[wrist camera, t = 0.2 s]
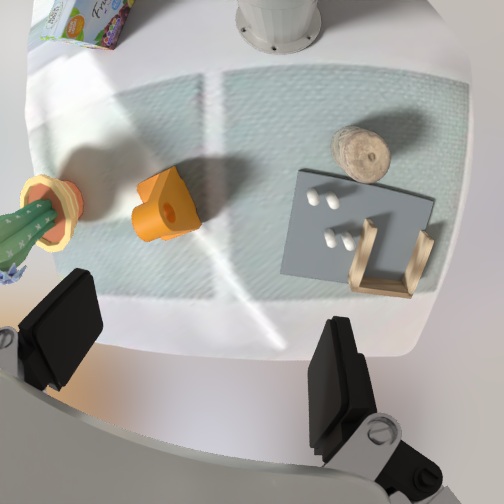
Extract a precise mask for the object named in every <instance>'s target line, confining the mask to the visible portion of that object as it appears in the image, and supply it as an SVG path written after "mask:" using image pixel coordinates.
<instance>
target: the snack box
mask: <svg viewBox="0 0 504 504" xmlns="http://www.w3.org/2000/svg"><path fill="white" fill-rule="evenodd" d="M134 1H135V0H55V2H54V5H53V7H52V9H51V12H50V14H49V17H48V19H47V22H46V24H45V27H44V29H43V32H42V35H41V39H42V40H50V41H56V42H62V43H67V44H73V45H78V46H82V47H87V48H92V49H109V50H114V48H115V45H116V42H117V40H118V37H119V35H120V32H121V30H122V27H123V25H124V23H125V20H126V18H127V16H128V14H129V11H130V9H131V7H132V5H133V3H134Z"/></svg>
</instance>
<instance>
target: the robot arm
mask: <svg viewBox="0 0 504 504" xmlns="http://www.w3.org/2000/svg"><path fill="white" fill-rule="evenodd" d="M237 2H238V4H239V7H238V9H237V13H236V25H237V29H238V31H239V33H240V35H241V36H242V38H243V39H244V40H245V41H246V42H247V43H248V44H250V45H251V46H252V47H254V48H256V49H258V50H260V51H263V52H266V53H270V54H290V53H294V52H298V51H300V50H302V49H304V48H306V47H307V46H309V45H310V44H311V43H312V42H313V41H314V40H315V39H316V37H317V35H318V34H319V31H320V28H321V14H320V12H319V9H318V7H317V6H316V5H317V2H318V0H237ZM244 30H246V32H243V31H244ZM308 37H309V38H310V40H309V39H307V38H308ZM273 48H276V50H275V51H274V50H273ZM18 327H19V329H20V331H19V332H18V333H17V331H16V330H15V329H14V328H13V327H10V326H6V327H2V328H0V504H461V503H460V501H459V500H458V499H457V498H456V496H455V495H454V494H453V492H452V491H451V490H450V489H449V487H448V486H446V487H443V485H442V481H443V476H442V472H441V470H440V468H439V467H438V466H437V465H436V464H435V463H434V462H432V461H431V460H429V459H428V458H426V457H425V456H424V455H422V454H420V453H419V452H418V451H416V450H415V449H414V448H412V447H411V446H409V445H408V444H406V443H405V442H404V441H402V440H401V437H402V430H401V427H400V425H399V423H398V422H397V420H396V419H394V418H393V417H392V416H390V415H388V414H385V413H377V408H376V404H375V399H374V394H373V389H372V385H371V381H370V377H369V372H368V368H367V364H366V360H365V357H364V355H363V354H362V353H358V352H357V347H356V343H355V339H354V335H353V331H352V327H351V323H350V320H349V318H347V317H339V316H333V318H332V320H331V319H328V320H327V321H326V324H325V327H324V329H323V332H322V335H321V337H320V340H319V342H318V345H317V347H316V350H315V352H314V355H313V357H312V360H311V362H310V365H309V368H308V395H309V432H310V435H309V437H310V447H311V448H314V455H322V459H323V462H324V463H325V464H324V465H323V466H322V467H317V466H305V465H295V464H283V463H273V462H263V461H255V460H249V459H241V458H235V457H228V456H223V455H218V454H213V453H208V452H202V451H198V450H193V449H190V448H185V447H181V446H178V445H174V444H170V443H166V442H163V441H159V440H156V439H153V438H150V437H146V436H143V435H140V434H137V433H134V432H131V431H128V430H126V429H123V428H120V427H117V426H115V425H112V424H109V423H107V422H105V421H102V420H100V419H97V418H95V417H93V416H91V415H88V414H86V413H84V412H81V411H79V410H77V409H75V408H73V407H70V406H69V405H67V404H64V403H63V402H61V401H59V400H57V399H55V398H53V397H51V396H49V395H47V392H46V387H47V385H49V387H51V388H53V389H55V390H57V391H60V389H61V388H62V386H63V387H64V386H66V384H67V383H68V381H69V380H70V378H71V376H72V375H73V373H74V372H75V370H76V369H77V367H78V366H79V364H80V363H81V361H82V360H83V358H84V357H85V355H86V354H87V352H88V351H89V349H90V348H91V346H92V345H93V343H94V342H95V341H96V339H97V338H98V336H99V335H100V333H101V332H102V330H103V321H102V317H101V313H100V309H99V304H98V300H97V295H96V290H95V285H94V280H93V276H92V275H91V274H90V272H89V271H88V270H84V269H80V268H76V269H74V270H73V271H72V272H71V273H70V274H69V275H68V276H67V277H65V278H64V279H63V280H62V281H61V282H60V283H59V284H58V285H57V286H56V287H55V288H54V289H53V290H52V291H51V292H50V293H49V294H48V295H47V296H46V297H45V298H44V299H43V300H42V301H41V302H40V303H39V304H38V305H37V306H36V307H35V308H34V309H33V310H32V311H31V312H30V313H29V314H28V315H27V316H26V317H25V318H24V319H23V320H22V322H21V323H20V324H19V325H18Z"/></svg>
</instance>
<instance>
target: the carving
mask: <svg viewBox="0 0 504 504" xmlns="http://www.w3.org/2000/svg"><path fill="white" fill-rule="evenodd" d="M331 153H332V156H333V158H334V160H335V162H336V163H337V164H338V165H339V166H340V167H341V168H342V169H343V170H344V171H345V172H346V173H347V174H348V175H349V176H350V177H351V178H353V179H354V180H356V181H358V182H361V183H366V184H368V183H374V182H377V181H379V180H380V179H381V178H382V177H383V176H384V175H385V174H386V173H387V171H388V169H389V166H390V160H391V155H390V149H389V147H388V145H387V143H386V142H385V141H384V139H383V138H382V137H380V136H379V135H378V134H376V133H374V132H372V131H370V130H366V129H362V128H360V127H356V126H346V127H344V128H342V129H340V130H339V131H337V132H336V133H335V134H334V136H333V138H332V142H331Z"/></svg>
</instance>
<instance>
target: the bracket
mask: <svg viewBox="0 0 504 504" xmlns="http://www.w3.org/2000/svg"><path fill="white" fill-rule="evenodd" d="M137 191H138V193H139V196H140V198H141V200H142V202H143V204H141V205H139V206H137V207H135V208H134V209H133V211H132V224H133V227H134V230H135V232H136V233H137V235H138V236H139V237H140V238H141V239H142V240H143V241H146V242H150V241H152V240H155V239H157V238H161V239H162V240H165V241H166V240H169V239H172V238H175V237H177V236H180V235H183V234H186V233H188V232H191V231H194V230H197V229H199V228H200V226H201V225H202V224H201V222H200V220H199V218H198V215H197V213H196V207H195V205H194V202H193V200H192V198H191V196H190V194H189V192H188V189H187V187H186V185H185V183H184V180H183V179H182V180H181V178H180V176H179V174H178V172H177V169H176V167H175V166H174V167H172V168H169V169H167V170H165V171H163V172H161V173H159V174H157V175H155V176H153V177H151V178H149V179H147V180H145V181H143V182H141V183H139V184H138V186H137Z"/></svg>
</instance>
